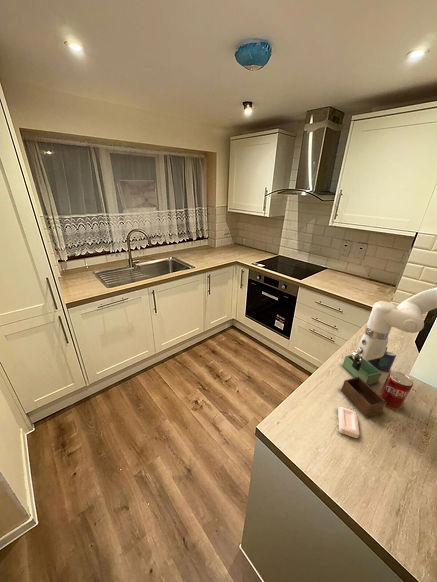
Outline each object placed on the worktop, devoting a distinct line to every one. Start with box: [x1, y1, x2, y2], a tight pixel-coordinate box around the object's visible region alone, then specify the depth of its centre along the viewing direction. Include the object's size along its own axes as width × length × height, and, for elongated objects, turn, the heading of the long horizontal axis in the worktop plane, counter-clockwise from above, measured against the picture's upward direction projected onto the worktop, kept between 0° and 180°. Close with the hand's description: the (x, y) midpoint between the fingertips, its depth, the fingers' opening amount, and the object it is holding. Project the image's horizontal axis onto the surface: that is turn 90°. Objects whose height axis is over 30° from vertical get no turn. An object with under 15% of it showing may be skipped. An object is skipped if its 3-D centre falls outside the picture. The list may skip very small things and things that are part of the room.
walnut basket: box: [340, 377, 387, 419], centre depth 86 cm, size 12×7×6 cm, turn 17°
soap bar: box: [337, 406, 360, 439], centre depth 79 cm, size 5×9×2 cm, turn 158°
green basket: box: [341, 354, 383, 386], centre depth 99 cm, size 12×7×6 cm, turn 17°
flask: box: [368, 349, 397, 373], centre depth 102 cm, size 9×3×11 cm, turn 66°
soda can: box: [378, 370, 414, 410], centre depth 85 cm, size 7×7×12 cm
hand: (364, 366), depth 98 cm, fingers open, 9 cm apart
